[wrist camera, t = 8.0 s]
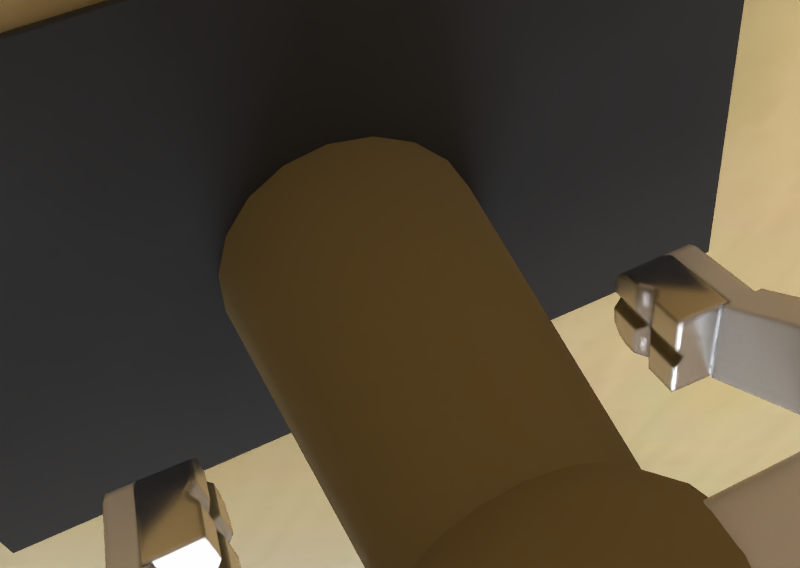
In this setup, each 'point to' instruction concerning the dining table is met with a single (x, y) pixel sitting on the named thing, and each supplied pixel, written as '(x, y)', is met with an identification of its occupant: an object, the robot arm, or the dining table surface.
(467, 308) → the cork
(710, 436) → the dining table surface
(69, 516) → the mat
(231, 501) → the dining table surface
